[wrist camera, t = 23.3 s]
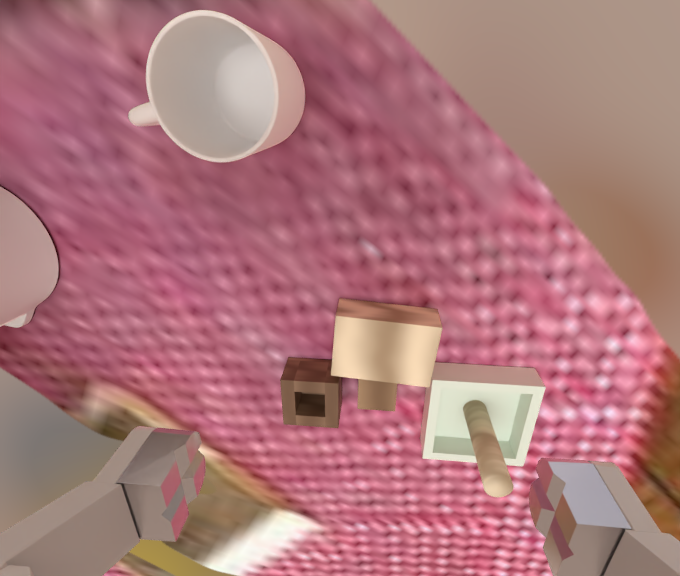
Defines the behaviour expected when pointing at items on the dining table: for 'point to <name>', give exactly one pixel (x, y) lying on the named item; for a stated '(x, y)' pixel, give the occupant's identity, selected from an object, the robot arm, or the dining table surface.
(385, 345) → the board
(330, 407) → the socket block
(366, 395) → the small brown block
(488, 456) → the dowel
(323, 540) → the dining table surface
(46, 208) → the dining table surface
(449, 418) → the tray
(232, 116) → the cup
